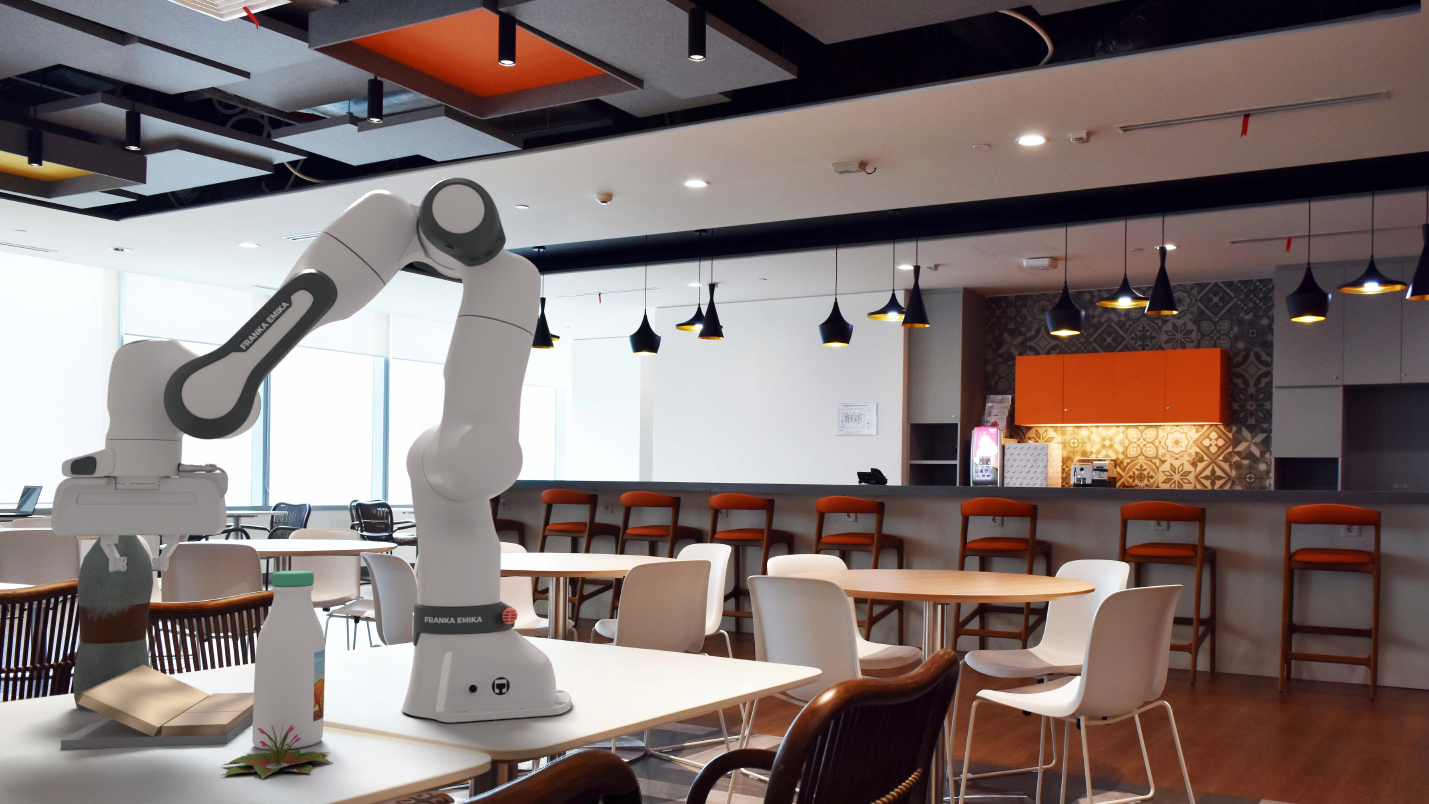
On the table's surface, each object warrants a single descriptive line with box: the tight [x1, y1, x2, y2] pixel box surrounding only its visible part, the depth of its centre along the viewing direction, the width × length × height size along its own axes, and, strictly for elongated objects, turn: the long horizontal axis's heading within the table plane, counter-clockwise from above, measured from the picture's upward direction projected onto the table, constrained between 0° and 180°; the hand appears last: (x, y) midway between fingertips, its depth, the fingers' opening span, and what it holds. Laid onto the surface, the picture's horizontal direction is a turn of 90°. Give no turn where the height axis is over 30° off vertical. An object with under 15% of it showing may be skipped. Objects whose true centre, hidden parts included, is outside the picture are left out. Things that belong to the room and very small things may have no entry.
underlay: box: [60, 714, 253, 750], centre depth 133 cm, size 18×20×1 cm
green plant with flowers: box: [220, 725, 333, 780], centre depth 115 cm, size 12×12×5 cm
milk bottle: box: [251, 570, 326, 751], centre depth 126 cm, size 8×8×20 cm
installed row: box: [161, 691, 254, 737], centre depth 134 cm, size 7×20×1 cm, turn 9°
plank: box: [74, 665, 211, 737], centre depth 133 cm, size 10×20×1 cm, turn 7°
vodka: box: [72, 535, 154, 713], centre depth 147 cm, size 9×9×30 cm
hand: (138, 571), depth 137 cm, fingers open, 4 cm apart
